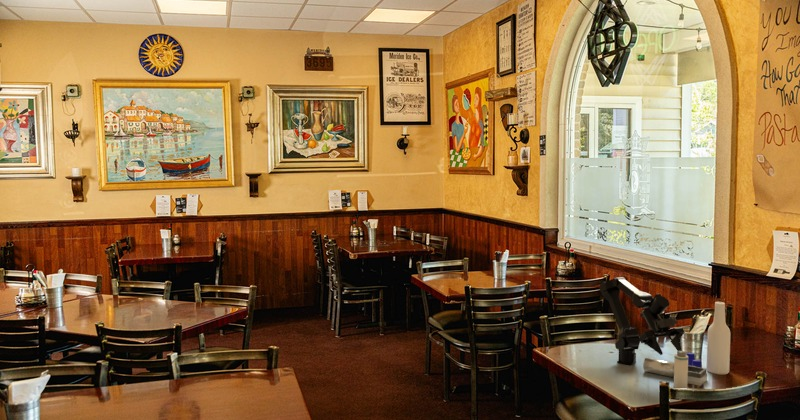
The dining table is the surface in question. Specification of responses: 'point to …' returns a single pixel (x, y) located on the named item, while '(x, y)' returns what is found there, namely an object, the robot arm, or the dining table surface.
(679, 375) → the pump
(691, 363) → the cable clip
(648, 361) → the grey cylinder with box
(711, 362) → the alcohol
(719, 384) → the dining table surface
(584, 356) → the dining table surface
